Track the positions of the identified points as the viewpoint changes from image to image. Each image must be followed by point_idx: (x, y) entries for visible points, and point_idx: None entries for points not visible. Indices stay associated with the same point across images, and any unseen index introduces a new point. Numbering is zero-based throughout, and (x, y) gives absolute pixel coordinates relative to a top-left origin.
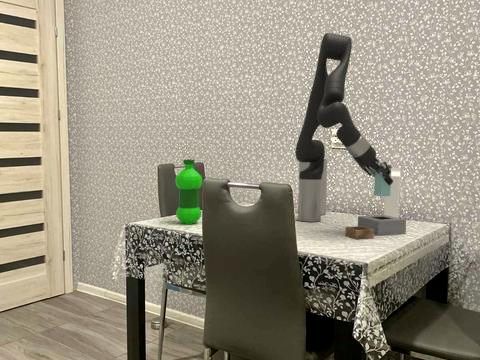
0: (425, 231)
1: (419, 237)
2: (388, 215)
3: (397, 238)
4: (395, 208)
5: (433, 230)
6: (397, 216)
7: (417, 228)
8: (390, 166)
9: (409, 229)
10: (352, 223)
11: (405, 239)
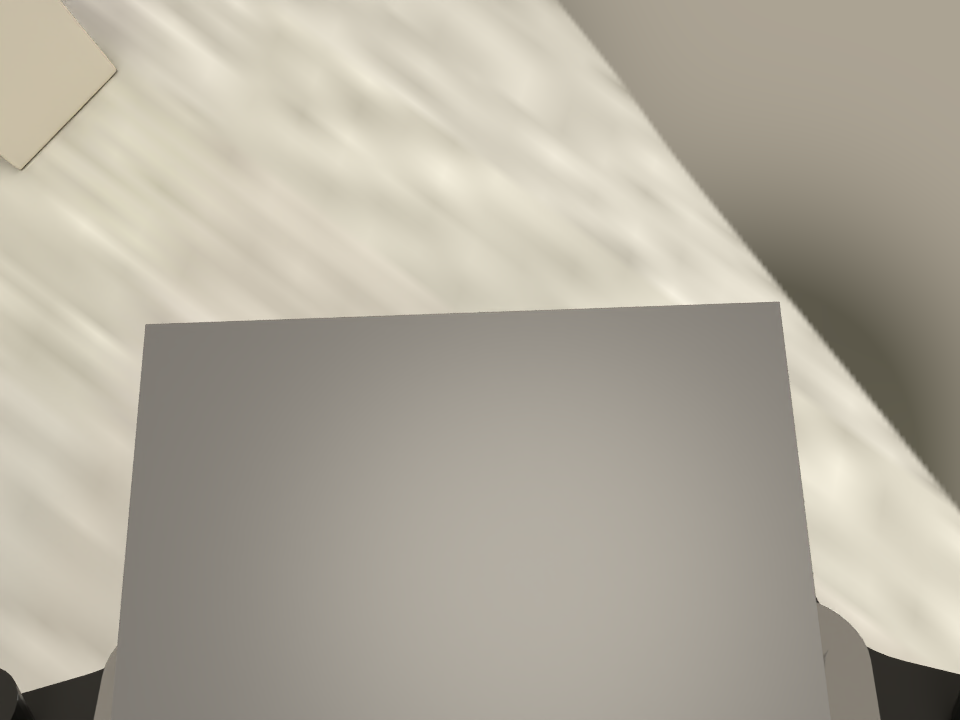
0: (613, 155)
1: (860, 397)
2: (17, 109)
3: (866, 642)
4: (18, 9)
5: (590, 61)
6: (83, 48)
7: (466, 127)
8: (770, 389)
9: (487, 227)
10: (6, 575)
11: (926, 596)
